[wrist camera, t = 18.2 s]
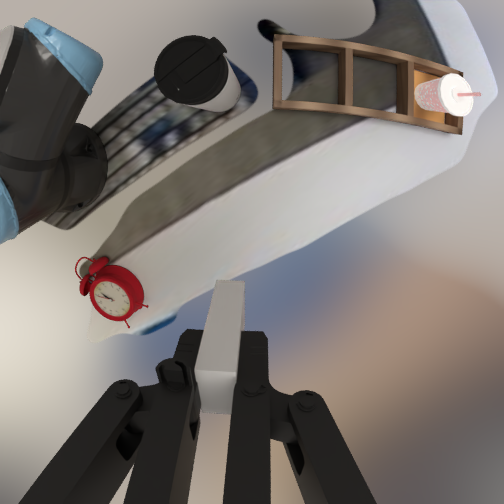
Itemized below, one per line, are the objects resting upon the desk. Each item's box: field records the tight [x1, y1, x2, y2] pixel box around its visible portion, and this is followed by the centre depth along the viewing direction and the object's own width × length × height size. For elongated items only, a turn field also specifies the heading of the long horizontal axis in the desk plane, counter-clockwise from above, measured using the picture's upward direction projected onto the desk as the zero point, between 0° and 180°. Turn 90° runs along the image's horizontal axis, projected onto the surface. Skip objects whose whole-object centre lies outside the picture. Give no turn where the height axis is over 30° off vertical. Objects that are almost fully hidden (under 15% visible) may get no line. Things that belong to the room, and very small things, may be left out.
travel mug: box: [154, 35, 241, 112], centre depth 29 cm, size 6×7×20 cm
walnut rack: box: [273, 34, 463, 135], centre depth 35 cm, size 30×10×4 cm, turn 89°
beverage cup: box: [414, 73, 481, 116], centre depth 30 cm, size 6×6×14 cm
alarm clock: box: [75, 257, 148, 328], centre depth 50 cm, size 10×6×15 cm
